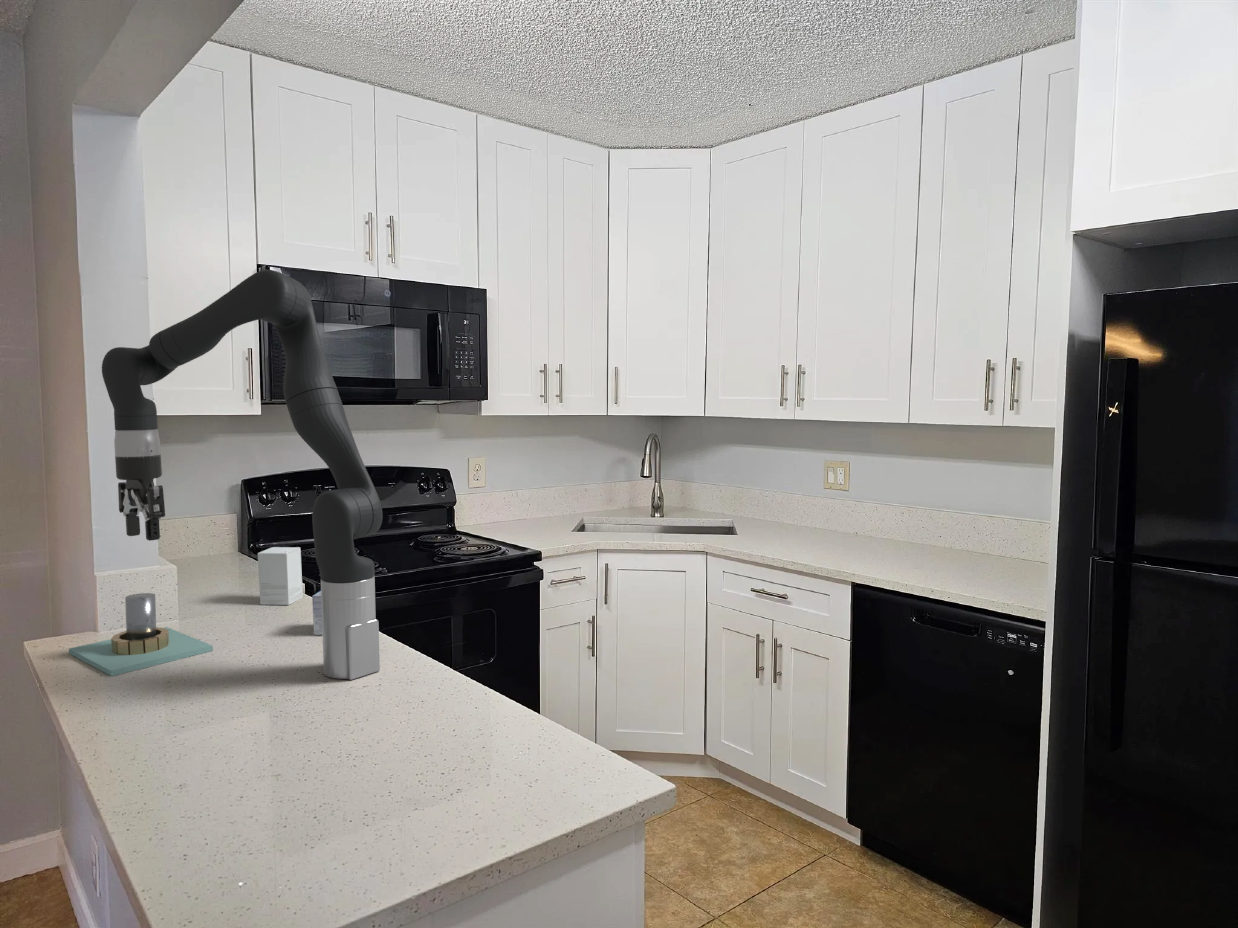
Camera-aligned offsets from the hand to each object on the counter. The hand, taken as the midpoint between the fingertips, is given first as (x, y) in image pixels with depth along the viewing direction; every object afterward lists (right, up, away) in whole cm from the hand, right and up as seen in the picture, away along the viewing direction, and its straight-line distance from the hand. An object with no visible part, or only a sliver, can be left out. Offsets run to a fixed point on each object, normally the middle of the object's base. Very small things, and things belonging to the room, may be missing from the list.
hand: (143, 537), depth 157 cm
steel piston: (-1, -21, +2) cm, 21 cm away
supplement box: (+10, -19, +39) cm, 45 cm away
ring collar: (-1, -22, +2) cm, 22 cm away
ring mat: (-1, -22, +2) cm, 22 cm away
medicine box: (+30, -21, +16) cm, 41 cm away
